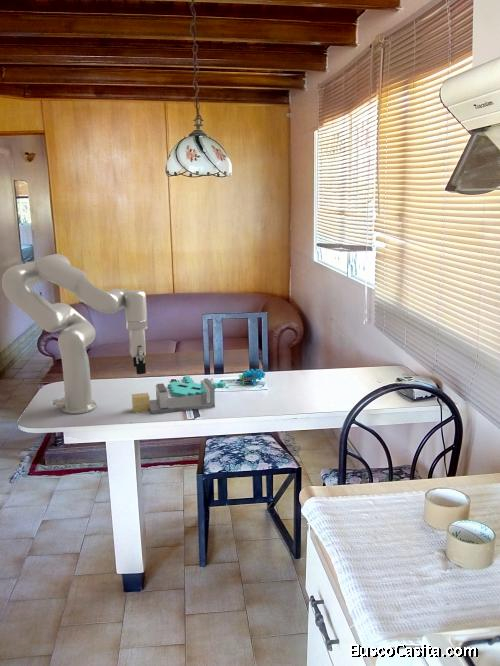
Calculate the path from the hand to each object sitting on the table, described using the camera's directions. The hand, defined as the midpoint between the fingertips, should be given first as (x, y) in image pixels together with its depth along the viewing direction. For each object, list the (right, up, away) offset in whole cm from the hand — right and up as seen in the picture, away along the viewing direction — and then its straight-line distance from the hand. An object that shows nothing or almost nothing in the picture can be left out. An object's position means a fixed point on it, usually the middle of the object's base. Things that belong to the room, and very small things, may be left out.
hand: (139, 369), depth 205 cm
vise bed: (+14, -14, +8) cm, 22 cm away
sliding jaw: (+7, -13, +6) cm, 16 cm away
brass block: (0, -15, +4) cm, 16 cm away
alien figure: (+17, -11, +26) cm, 33 cm away
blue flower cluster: (+42, -8, +33) cm, 54 cm away
